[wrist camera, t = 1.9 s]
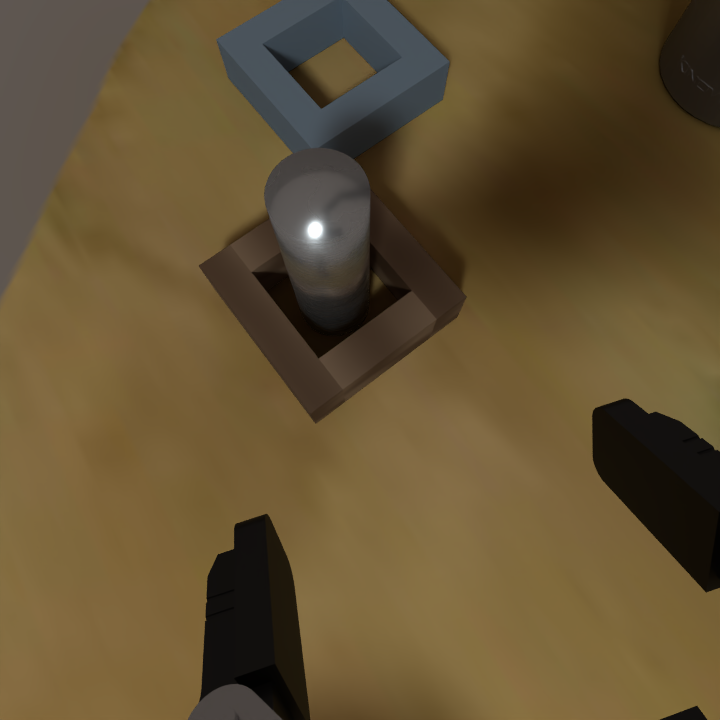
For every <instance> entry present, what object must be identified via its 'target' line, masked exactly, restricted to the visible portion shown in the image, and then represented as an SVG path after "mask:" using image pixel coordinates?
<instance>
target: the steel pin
mask: <svg viewBox="0 0 720 720" xmlns="http://www.w3.org/2000/svg"><path fill="white" fill-rule="evenodd" d="M264 198H265V205H266V208H267V211H268V214H269V217H270V220H271V223H272V226H273V229H274V232H275V235H276V239H277V242H278V245H279V248H280V251H281V254H282V257H283V260H284V263H285V266H286V269H287V272H288V275H289V278H290V281H291V284H292V287H293V290H294V293H295V296H296V299H297V302H298V305H299V308H300V311H301V314H302V317H303V319H304V320H305V322H306V323H307V324H308V325H309V326H310V327H311V328H312V329H313V330H315V331H317V332H319V333H321V334H324V335H329V336H339V335H344V334H347V333H349V332H351V331H353V330H354V329H356V328H357V327H358V326H359V325H360V324H361V323H362V322H363V320H364V319H365V317H366V315H367V312H368V308H369V266H370V185H369V181H368V178H367V176H366V174H365V172H364V170H363V169H362V168H361V166H360V165H359V164H358V163H357V162H356V161H355V160H354V159H352V158H351V157H350V156H348V155H346V154H344V153H342V152H339V151H337V150H333V149H328V148H310V149H305V150H301V151H298V152H296V153H293V154H291V155H290V156H288V157H286V158H285V159H284V160H282V161H281V162H280V163H279V164H278V165H277V166H276V167H275V168H274V169H273V171H272V172H271V174H270V176H269V178H268V180H267V183H266V186H265V193H264Z"/></svg>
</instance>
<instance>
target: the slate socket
mask: <svg viewBox="0 0 720 720" xmlns="http://www.w3.org/2000/svg"><path fill="white" fill-rule="evenodd" d="M342 38H345V39H346V40H347V41H348V43H349V44H350V45H351V46H352V47H353V48H354V49H355V50H356V51H357V52H358V53H359V54H360V55H361V56H362V57H363V58H364V59H365V60H366V61H367V62H368V63H369V64H370V65H371V66H372V67H373V68H374V69H375V71H376V72H377V74H375V75H374V76H372V77H371V78H369V79H367V80H366V81H364V82H363V83H361V84H360V85H358V86H356V87H355V88H353V89H352V90H350V91H349V92H347V93H346V94H344V95H342V96H341V97H339V98H338V99H336V100H335V101H333V102H331V103H330V104H328V105H327V106H325V107H324V108H322V109H321V108H320V107H319V106H318V105H317V104H316V103H315V102H314V101H313V99H312V98H311V97H310V96H309V95H308V94H307V93H306V92H305V91H304V90H303V88H302V87H301V86H300V85H299V84H298V83H297V82H296V81H295V80H294V78H293V77H292V76H291V75H290V74H289V73H288V72H289V71H290V70H292V69H294V68H295V67H297V66H298V65H300V64H302V63H303V62H305V61H306V60H308V59H310V58H311V57H313V56H315V55H316V54H318V53H319V52H321V51H323V50H324V49H326V48H327V47H329V46H331V45H332V44H334V43H336V42H337V41H339V40H340V39H342ZM216 40H217V43H218V46H219V50H220V53H221V56H222V59H223V62H224V65H225V68H226V71H227V75H228V78H229V79H230V80H231V82H232V83H233V84H234V85H235V86H236V87H237V89H238V90H239V91H240V92H241V93H242V94H243V95H244V97H245V98H246V99H247V100H248V101H249V102H250V104H251V105H252V106H253V107H254V108H255V109H256V111H257V112H258V113H259V114H260V115H261V116H262V118H263V119H264V120H265V121H266V122H267V123H268V124H269V126H270V127H271V128H272V129H273V130H274V131H275V133H276V134H277V135H278V136H279V137H280V138H281V140H282V141H283V142H284V143H285V144H286V145H287V147H288V148H289V149H290V150H291V151H292V152H293V153H296V152H298V151H301V150H305V149H310V148H328V149H333V150H337V151H339V152H342V153H344V154H346V155H348V156H350V157H351V158H352V159H354V158H356V157H357V156H359V155H360V154H362V153H363V152H365V151H366V150H368V149H369V148H371V147H372V146H374V145H375V144H377V143H378V142H380V141H381V140H383V139H384V138H386V137H387V136H389V135H390V134H392V133H393V132H395V131H396V130H398V129H399V128H401V127H402V126H404V125H405V124H407V123H408V122H410V121H411V120H413V119H414V118H416V117H417V116H419V115H420V114H422V113H423V112H425V111H426V110H428V109H429V108H431V107H432V106H434V105H435V104H437V103H438V102H440V101H441V100H443V95H444V90H445V85H446V79H447V74H448V68H449V63H450V62H449V61H448V60H447V59H446V58H445V57H444V56H443V55H442V54H441V53H440V52H439V51H438V50H437V49H436V48H435V47H434V46H433V45H432V44H431V43H430V42H429V41H428V40H427V39H426V38H425V37H424V36H423V35H422V34H421V33H420V32H419V31H418V30H417V29H416V28H415V27H414V26H413V25H412V24H411V23H410V22H409V21H408V20H407V19H406V18H405V17H404V16H403V15H402V14H401V13H400V12H399V11H398V10H396V9H395V8H394V7H393V6H392V5H391V4H390V3H389V2H388V1H387V0H282V1H281V2H279V3H277V4H276V5H274V6H272V7H270V8H269V9H267V10H265V11H264V12H262V13H260V14H259V15H257V16H255V17H254V18H252V19H250V20H248V21H247V22H245V23H243V24H242V25H240V26H238V27H237V28H235V29H233V30H232V31H230V32H228V33H226V34H225V35H223V36H221V37H220V38H218V39H216Z"/></svg>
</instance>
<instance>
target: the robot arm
mask: <svg viewBox="0 0 720 720" xmlns="http://www.w3.org/2000/svg"><path fill="white" fill-rule="evenodd" d="M660 71H661V76H662V78H663V81H664V84H665V86H666V88H667V89H668V91H669V93H670V94H671V96H672V97H673V98H674V99H675V101H676V102H677V103H678V104H679V105H680V106H681V107H682V108H683V109H685V110H686V111H687V112H689V113H690V114H692V115H693V116H694V117H696V118H698V119H700V120H702V121H704V122H706V123H708V124H710V125H714V126H717V127H720V0H692V1H691V3H690V4H689V6H688V7H687V9H686V10H685V12H684V14H683V15H682V17H681V18H680V20H679V21H678V23H677V25H676V26H675V28H674V29H673V31H672V32H671V34H670V36H669V37H668V39H667V40H666V42H665V44H664V46H663V48H662V51H661V57H660ZM592 433H593V461H594V465H595V467H596V470H597V472H598V474H599V475H600V477H601V479H602V480H603V481H604V482H605V483H606V485H607V486H608V487H609V488H610V489H611V490H612V491H613V492H614V493H615V494H616V495H617V496H618V498H619V499H620V500H621V501H622V502H623V503H624V504H625V505H626V506H627V507H628V508H629V509H630V511H631V512H632V513H633V514H634V515H635V516H636V517H637V518H638V519H639V520H640V521H641V522H642V524H643V525H644V526H645V527H646V528H647V529H648V530H649V531H650V532H651V533H652V534H653V535H654V537H655V538H656V539H657V540H658V541H659V542H660V543H661V544H662V545H663V546H664V547H665V548H666V549H667V551H668V552H669V553H670V554H671V555H672V556H673V557H674V558H675V559H676V560H677V561H678V562H679V564H680V565H681V566H682V567H683V568H684V569H685V570H686V571H687V572H688V573H689V574H690V575H691V577H692V578H693V579H694V580H695V581H696V582H697V583H698V584H699V585H700V586H701V587H702V588H703V590H704V591H705V592H709V591H712V590H714V589H717V588H720V451H718V450H714V447H713V446H712V445H710V444H709V443H708V442H706V441H705V440H704V439H703V438H701V439H700V438H699V436H698V435H697V434H696V433H695V432H693V431H692V430H691V429H689V428H688V427H687V426H685V425H684V424H683V423H682V422H680V421H678V420H675V419H673V418H670V417H668V416H665V415H663V414H660V413H658V412H654V413H650V414H648V413H647V412H645V411H644V410H643V409H642V408H640V407H639V406H638V405H637V404H635V403H634V402H633V401H631V400H629V399H621V400H618V401H615V402H612V403H609V404H606V405H603V406H600V407H597V408H595V409H594V411H593V415H592ZM188 720H310V713H309V704H308V696H307V688H306V679H305V671H304V662H303V654H302V645H301V637H300V629H299V620H298V612H297V603H296V595H295V586H294V580H293V575H292V571H291V567H290V564H289V561H288V558H287V555H286V553H285V551H284V549H283V546H282V544H281V542H280V540H279V537H278V535H277V533H276V530H275V528H274V526H273V524H272V521H271V519H270V517H269V516H268V514H264V515H261V516H258V517H255V518H252V519H249V520H246V521H243V522H240V523H237V524H235V527H234V549H233V550H230V551H227V552H224V553H221V554H218V555H217V557H216V560H215V562H214V564H213V566H212V568H211V570H210V573H209V575H208V580H207V603H206V621H205V635H204V653H203V672H202V689H201V697H200V701H199V703H198V705H197V706H196V707H195V708H194V710H193V711H192V713H191V715H190V716H189V718H188ZM660 720H707V719H706V717H705V716H704V715H703V713H702V712H701V710H700V709H699V708H698V706H695V707H692V708H690V709H687V710H684V711H682V712H679V713H676V714H674V715H671V716H668V717H666V718H663V719H660Z"/></svg>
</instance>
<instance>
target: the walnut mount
mask: <svg viewBox="0 0 720 720" xmlns="http://www.w3.org/2000/svg"><path fill="white" fill-rule="evenodd" d="M199 267H200V269H201V270H202V271H203V273H204V274H205V276H206V277H207V279H208V280H209V282H210V283H211V285H212V286H213V287H214V289H215V290H216V292H217V293H218V294H219V296H220V297H221V298H222V300H223V301H224V302H225V304H226V305H227V306H228V308H229V309H230V310H231V312H232V313H233V314H234V316H235V317H236V318H237V320H238V321H239V322H240V324H241V325H242V326H243V328H244V329H245V330H246V332H247V333H248V334H249V336H250V337H251V338H252V340H253V341H254V342H255V344H256V345H257V346H258V348H259V349H260V350H261V352H262V353H263V354H264V356H265V357H266V358H267V360H268V361H269V362H270V364H271V365H272V366H273V368H274V369H275V370H276V372H277V373H278V374H279V376H280V377H281V378H282V380H283V381H284V382H285V384H286V385H287V386H288V388H289V389H290V390H291V392H292V393H293V394H294V396H295V397H296V398H297V400H298V401H299V402H300V404H301V405H302V406H303V408H304V409H305V410H306V412H307V413H308V414H309V416H310V417H311V418H312V420H313V421H314V422H315V424H316V423H317V422H319V421H320V420H321V419H323V418H324V417H325V416H327V415H328V414H329V413H331V412H332V411H333V410H335V409H336V408H337V407H339V406H340V405H341V404H343V403H344V402H345V401H347V400H348V399H349V398H351V397H352V396H353V395H355V394H356V393H357V392H359V391H360V390H361V389H363V388H364V387H365V386H367V385H368V384H369V383H370V382H372V381H373V380H374V379H376V378H377V377H378V376H380V375H381V374H382V373H384V372H385V371H386V370H388V369H389V368H390V367H392V366H393V365H394V364H396V363H397V362H398V361H400V360H401V359H402V358H404V357H405V356H406V355H408V354H409V353H410V352H412V351H413V350H414V349H416V348H417V347H418V346H420V345H421V344H422V343H424V342H425V341H426V340H428V339H429V338H430V337H431V336H433V335H434V334H435V333H437V332H438V331H439V330H441V329H442V328H443V327H445V326H446V325H447V324H449V323H450V322H451V321H453V320H454V319H455V318H457V316H458V314H459V312H460V310H461V308H462V306H463V303H464V301H465V299H466V296H465V295H464V293H463V292H462V291H461V290H460V289H459V288H458V287H457V286H456V284H455V283H454V282H453V281H452V280H451V279H450V278H449V277H448V275H447V274H446V273H445V272H444V271H443V270H442V269H441V268H440V266H439V265H438V264H437V263H436V262H435V261H434V260H433V259H432V258H431V256H430V255H429V254H428V253H427V252H426V251H425V250H424V249H423V247H422V246H421V245H420V244H419V243H418V242H417V241H416V240H415V238H414V237H413V236H412V235H411V234H410V233H409V232H408V231H407V229H406V228H405V227H404V226H403V225H402V224H401V223H400V222H399V220H398V219H397V218H396V217H395V216H394V215H393V214H392V213H391V211H390V210H389V209H388V208H387V207H386V206H385V205H384V204H383V203H382V201H381V200H380V199H379V198H378V197H377V196H376V195H375V194H374V192H373V191H372V190H371V189H370V266H369V267H370V268H371V269H372V270H373V271H374V272H375V274H376V275H377V276H378V277H379V278H380V279H381V281H382V282H383V283H384V284H385V285H386V287H387V288H388V289H389V290H390V291H391V292H392V294H393V295H394V296H395V297H396V298H397V299H398V301H397V302H396V303H394V304H393V305H391V306H390V307H389V308H387V309H386V310H385V311H383V312H382V313H381V314H379V315H378V316H376V317H375V318H374V319H372V320H371V321H370V322H368V323H367V324H365V325H364V326H363V327H361V328H360V329H359V330H357V331H356V332H355V333H353V334H352V335H350V336H349V337H348V338H346V339H345V340H344V341H342V342H341V343H339V344H338V345H337V346H335V347H334V348H333V349H331V350H330V351H329V352H327V353H326V354H324V355H323V356H322V357H320V358H318V357H317V356H316V354H315V353H314V352H313V351H312V349H311V348H310V347H309V345H308V344H307V343H306V342H305V340H304V339H303V338H302V337H301V335H300V334H299V333H298V331H297V330H296V329H295V328H294V326H293V325H292V324H291V322H290V321H289V320H288V319H287V317H286V316H285V315H284V313H283V312H282V311H281V310H280V308H279V307H278V306H277V304H276V303H275V302H274V301H273V299H272V298H271V297H270V295H269V294H268V293H267V292H266V291H267V290H269V289H270V288H272V287H273V286H275V285H276V284H278V283H279V282H280V281H282V280H283V279H285V278H286V277H288V276H289V275H288V272H287V269H286V266H285V263H284V260H283V257H282V254H281V251H280V248H279V245H278V242H277V239H276V235H275V232H274V229H273V226H272V223H271V220H270V219H268V220H267V221H265V222H264V223H262V224H261V225H259V226H258V227H256V228H255V229H253V230H252V231H250V232H249V233H247V234H246V235H244V236H243V237H241V238H240V239H238V240H237V241H235V242H234V243H232V244H231V245H229V246H228V247H226V248H225V249H223V250H222V251H220V252H219V253H217V254H216V255H214V256H213V257H211V258H210V259H208V260H207V261H205V262H204V263H202V264H201V265H199Z"/></svg>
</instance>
